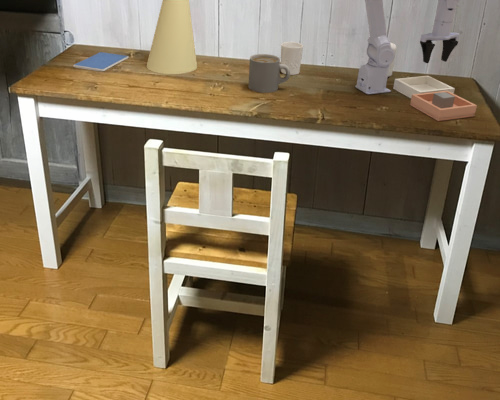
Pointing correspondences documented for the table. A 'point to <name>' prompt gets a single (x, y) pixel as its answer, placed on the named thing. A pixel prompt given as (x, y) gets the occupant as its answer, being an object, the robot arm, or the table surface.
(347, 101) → the table surface
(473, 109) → the bin
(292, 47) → the white cup
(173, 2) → the cone light
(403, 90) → the tub
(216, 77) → the table surface
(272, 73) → the coffee mug
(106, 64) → the blue notebook
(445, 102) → the gray cube
